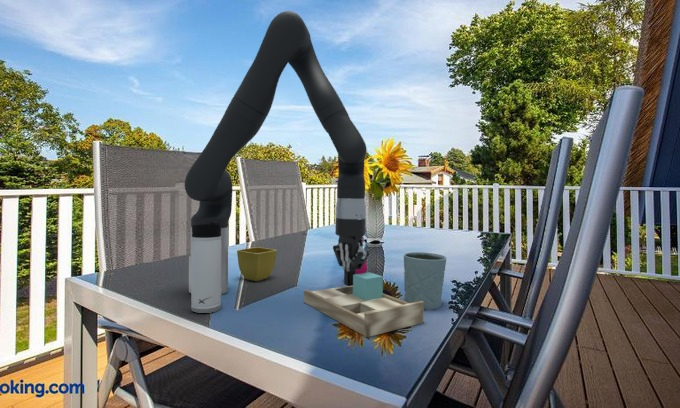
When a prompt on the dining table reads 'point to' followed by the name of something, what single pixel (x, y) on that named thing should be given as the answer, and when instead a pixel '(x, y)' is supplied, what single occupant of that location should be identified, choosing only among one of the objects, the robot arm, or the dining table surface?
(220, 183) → the robot arm
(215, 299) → the travel mug
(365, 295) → the teal block
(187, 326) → the dining table surface
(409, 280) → the grey green cup
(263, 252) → the flower pot
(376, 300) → the tray
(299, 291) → the dining table surface
